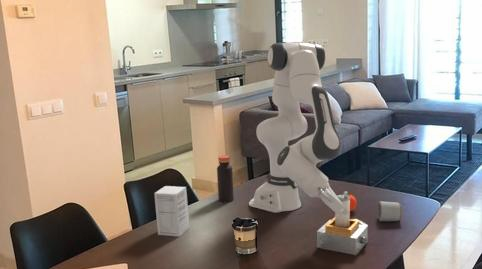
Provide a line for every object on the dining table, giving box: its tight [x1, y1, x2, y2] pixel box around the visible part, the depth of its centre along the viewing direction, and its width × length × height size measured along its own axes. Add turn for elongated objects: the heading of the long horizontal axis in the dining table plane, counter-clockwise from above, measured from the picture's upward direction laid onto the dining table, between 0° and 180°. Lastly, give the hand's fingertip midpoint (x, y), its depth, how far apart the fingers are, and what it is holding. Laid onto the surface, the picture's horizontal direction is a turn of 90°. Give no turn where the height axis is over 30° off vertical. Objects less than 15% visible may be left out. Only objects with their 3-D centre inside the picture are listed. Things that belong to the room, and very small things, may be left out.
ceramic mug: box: [377, 200, 403, 222], centre depth 205 cm, size 11×8×8 cm
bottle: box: [216, 155, 235, 203], centre depth 234 cm, size 7×7×20 cm
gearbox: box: [316, 216, 369, 256], centre depth 183 cm, size 15×12×8 cm
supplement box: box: [154, 185, 190, 237], centre depth 201 cm, size 10×9×17 cm
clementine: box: [348, 194, 358, 212], centre depth 216 cm, size 8×7×7 cm
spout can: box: [334, 191, 351, 227], centre depth 182 cm, size 5×5×12 cm
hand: (344, 209), depth 182 cm, fingers closed on spout can, 5 cm apart
